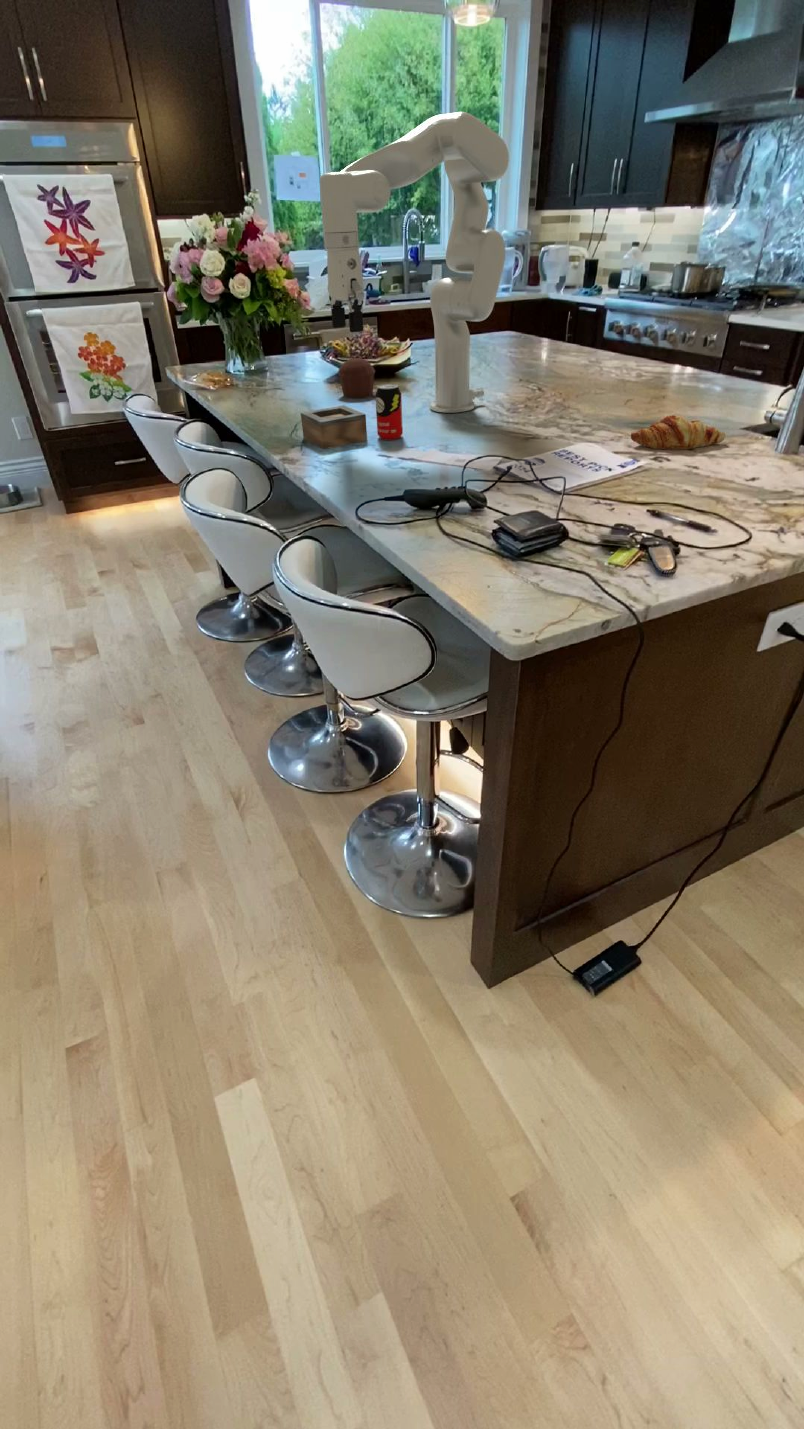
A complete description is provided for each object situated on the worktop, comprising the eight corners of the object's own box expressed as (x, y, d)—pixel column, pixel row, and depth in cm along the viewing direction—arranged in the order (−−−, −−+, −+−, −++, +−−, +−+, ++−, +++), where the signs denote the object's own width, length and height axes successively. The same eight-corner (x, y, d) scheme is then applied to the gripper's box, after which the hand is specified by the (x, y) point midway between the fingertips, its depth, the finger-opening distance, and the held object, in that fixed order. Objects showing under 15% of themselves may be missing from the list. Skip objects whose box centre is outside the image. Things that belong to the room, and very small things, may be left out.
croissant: (715, 456, 171) (717, 420, 170) (733, 446, 161) (735, 408, 160) (624, 457, 171) (626, 421, 170) (637, 447, 161) (638, 409, 160)
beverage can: (378, 434, 184) (375, 383, 177) (403, 433, 184) (401, 382, 177) (377, 441, 179) (374, 389, 172) (402, 440, 179) (400, 388, 172)
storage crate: (345, 430, 189) (343, 405, 185) (367, 440, 180) (365, 414, 176) (303, 438, 184) (300, 412, 180) (323, 449, 175) (320, 422, 172)
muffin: (355, 389, 230) (353, 354, 224) (383, 392, 224) (382, 357, 218) (331, 397, 222) (328, 361, 216) (360, 401, 216) (357, 364, 211)
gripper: (374, 242, 155) (378, 331, 165) (341, 240, 167) (347, 323, 177) (341, 244, 152) (348, 335, 162) (310, 242, 165) (318, 327, 175)
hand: (347, 329), depth 170 cm, fingers open, 9 cm apart
